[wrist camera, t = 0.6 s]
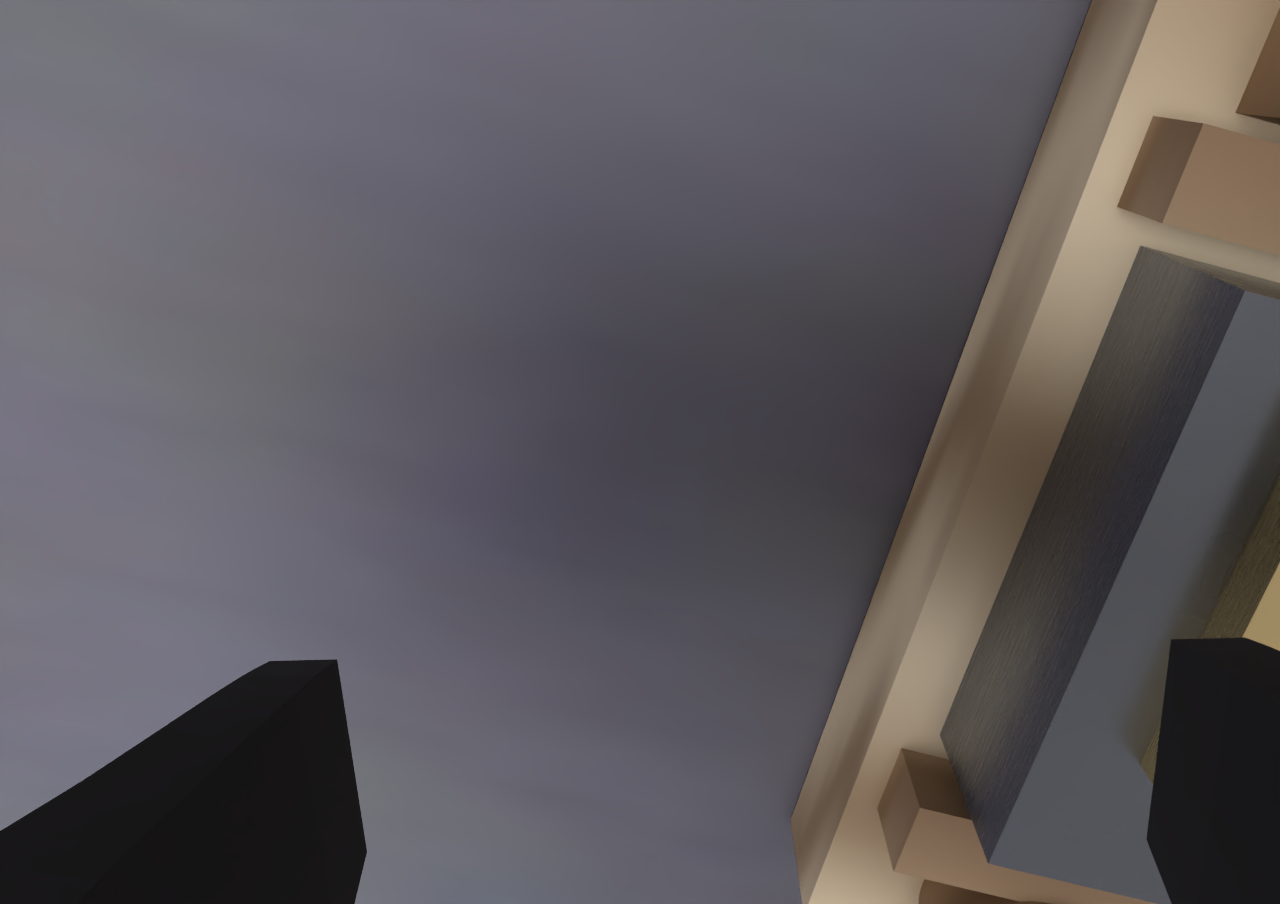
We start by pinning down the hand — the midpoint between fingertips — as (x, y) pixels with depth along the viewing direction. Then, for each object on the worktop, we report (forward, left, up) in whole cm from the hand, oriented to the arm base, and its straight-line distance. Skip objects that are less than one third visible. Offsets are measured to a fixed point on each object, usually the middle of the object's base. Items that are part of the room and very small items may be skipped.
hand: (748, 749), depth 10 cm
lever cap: (-5, -5, -7) cm, 10 cm away
